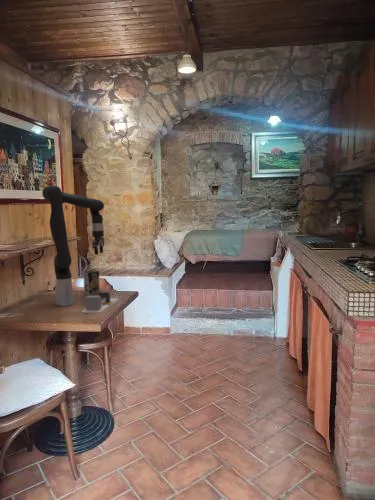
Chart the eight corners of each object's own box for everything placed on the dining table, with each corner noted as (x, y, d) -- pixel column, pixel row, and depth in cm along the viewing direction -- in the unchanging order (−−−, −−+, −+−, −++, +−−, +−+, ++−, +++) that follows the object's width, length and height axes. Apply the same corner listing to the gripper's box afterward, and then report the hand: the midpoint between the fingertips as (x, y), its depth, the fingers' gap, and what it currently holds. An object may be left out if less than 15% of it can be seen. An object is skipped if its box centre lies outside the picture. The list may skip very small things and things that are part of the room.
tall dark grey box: (91, 306, 228) (90, 297, 227) (99, 301, 241) (99, 292, 240) (106, 307, 226) (105, 297, 226) (114, 301, 239) (113, 292, 238)
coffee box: (90, 295, 263) (88, 273, 261) (84, 294, 267) (83, 272, 265) (100, 293, 270) (99, 271, 268) (94, 291, 274) (93, 270, 272)
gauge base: (81, 312, 220) (80, 297, 219) (102, 299, 250) (101, 286, 249) (100, 313, 218) (99, 298, 217) (119, 300, 248) (118, 286, 247)
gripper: (96, 229, 261) (98, 252, 263) (88, 230, 247) (89, 255, 249) (107, 229, 260) (108, 252, 262) (98, 230, 246) (100, 255, 248)
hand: (99, 253), depth 255 cm, fingers open, 8 cm apart
